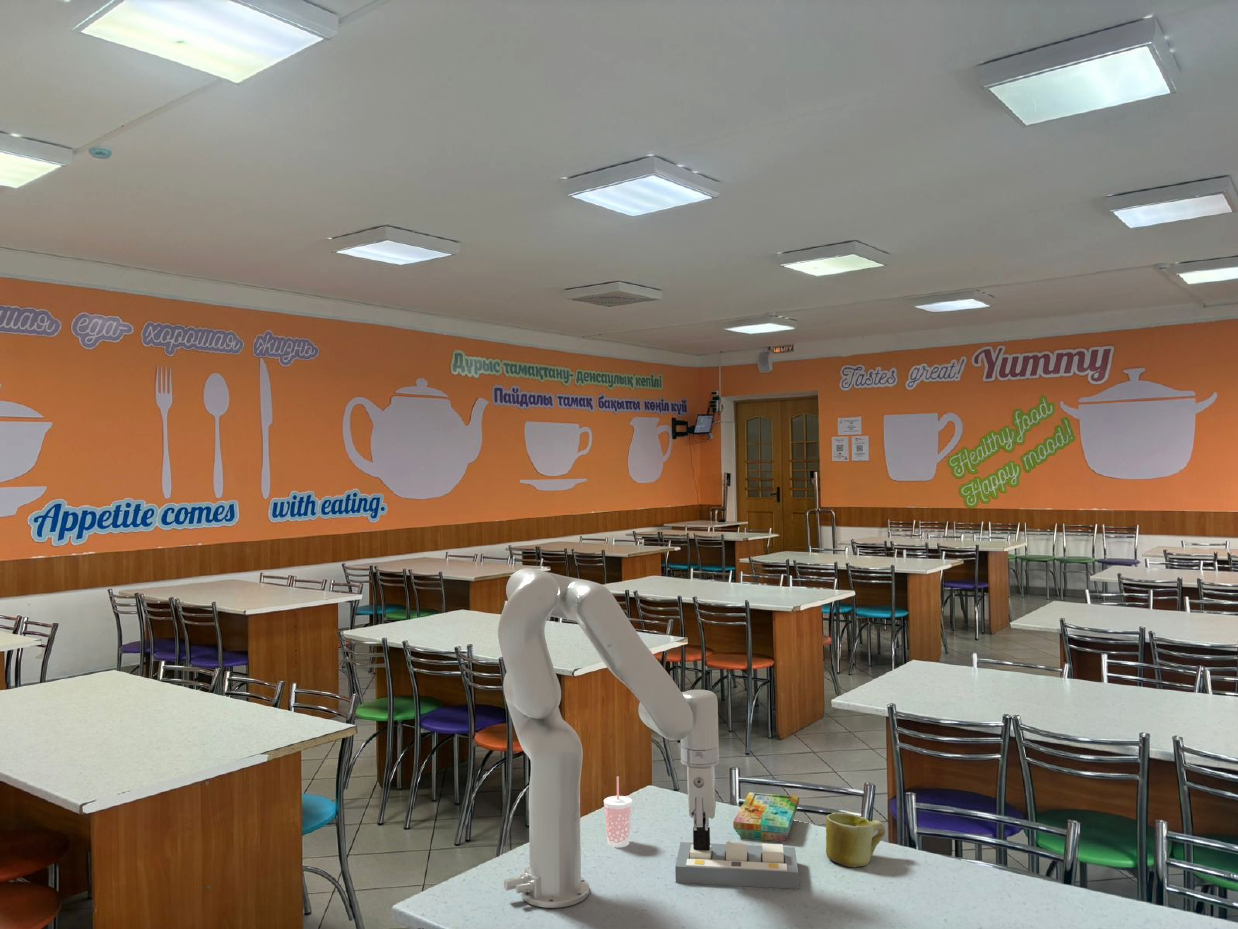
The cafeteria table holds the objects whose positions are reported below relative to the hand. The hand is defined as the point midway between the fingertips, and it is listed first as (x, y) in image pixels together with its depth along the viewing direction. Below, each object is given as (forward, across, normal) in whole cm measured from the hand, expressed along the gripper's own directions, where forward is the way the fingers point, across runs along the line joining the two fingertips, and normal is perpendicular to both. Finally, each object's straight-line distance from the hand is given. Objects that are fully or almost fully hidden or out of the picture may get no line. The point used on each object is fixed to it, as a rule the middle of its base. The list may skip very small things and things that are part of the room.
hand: (701, 848), depth 171 cm
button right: (+2, 0, -14) cm, 14 cm away
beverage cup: (+4, +12, +18) cm, 22 cm away
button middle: (+2, 0, -7) cm, 7 cm away
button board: (+4, 0, -7) cm, 8 cm away
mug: (+5, +9, -31) cm, 32 cm away
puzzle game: (+5, +26, -13) cm, 30 cm away
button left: (+3, 0, 0) cm, 3 cm away
